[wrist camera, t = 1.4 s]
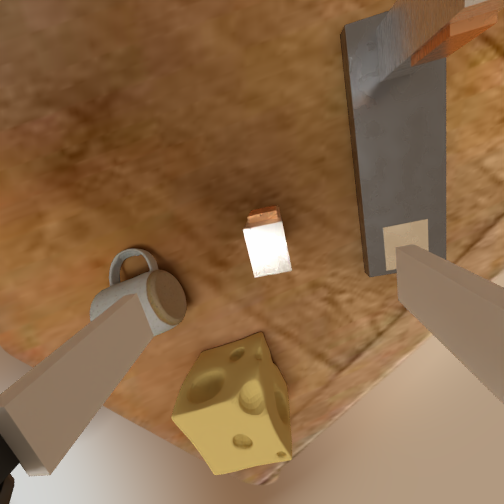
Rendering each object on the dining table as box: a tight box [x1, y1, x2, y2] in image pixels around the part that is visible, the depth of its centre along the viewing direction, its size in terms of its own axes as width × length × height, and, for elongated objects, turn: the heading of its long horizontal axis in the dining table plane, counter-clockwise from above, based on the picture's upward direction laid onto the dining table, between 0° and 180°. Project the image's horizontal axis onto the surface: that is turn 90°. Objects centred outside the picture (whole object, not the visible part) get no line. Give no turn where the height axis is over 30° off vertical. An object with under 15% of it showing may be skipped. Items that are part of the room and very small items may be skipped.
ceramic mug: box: [90, 248, 187, 336], centre depth 28 cm, size 11×8×8 cm
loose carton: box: [243, 205, 292, 277], centre depth 23 cm, size 5×3×10 cm, turn 13°
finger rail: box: [340, 0, 504, 277], centre depth 19 cm, size 24×8×12 cm, turn 13°
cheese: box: [171, 332, 292, 475], centre depth 30 cm, size 10×11×10 cm
